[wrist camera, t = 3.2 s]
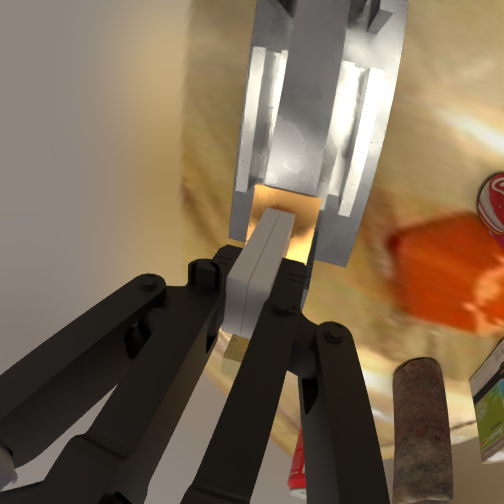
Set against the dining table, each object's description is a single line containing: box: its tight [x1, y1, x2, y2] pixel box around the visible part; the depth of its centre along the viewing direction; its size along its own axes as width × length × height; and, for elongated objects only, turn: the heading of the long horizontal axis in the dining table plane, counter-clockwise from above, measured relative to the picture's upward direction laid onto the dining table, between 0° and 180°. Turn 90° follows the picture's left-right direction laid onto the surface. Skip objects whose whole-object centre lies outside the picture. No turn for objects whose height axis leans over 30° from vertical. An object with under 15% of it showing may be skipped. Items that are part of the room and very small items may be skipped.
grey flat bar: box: [245, 0, 351, 265], centre depth 15 cm, size 20×5×2 cm, turn 173°
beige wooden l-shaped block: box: [221, 334, 250, 378], centre depth 21 cm, size 6×4×5 cm, turn 173°
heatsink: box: [228, 0, 408, 312], centre depth 21 cm, size 26×12×10 cm, turn 173°
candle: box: [392, 358, 453, 504], centre depth 29 cm, size 8×7×20 cm
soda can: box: [287, 423, 307, 499], centre depth 41 cm, size 8×8×15 cm
